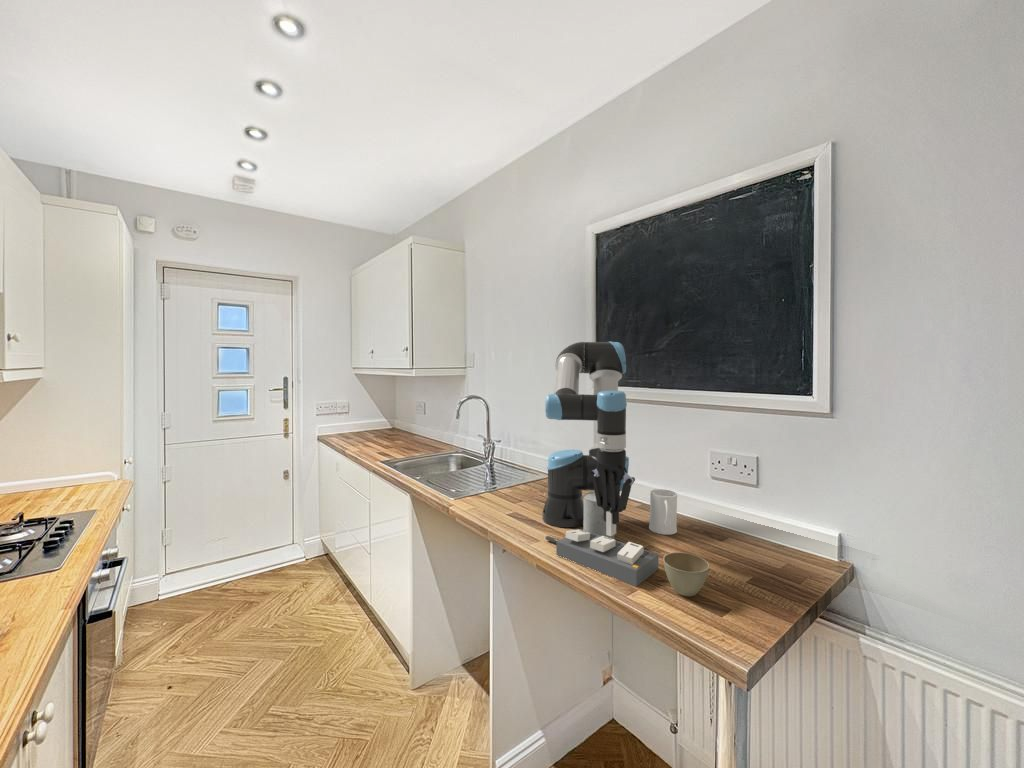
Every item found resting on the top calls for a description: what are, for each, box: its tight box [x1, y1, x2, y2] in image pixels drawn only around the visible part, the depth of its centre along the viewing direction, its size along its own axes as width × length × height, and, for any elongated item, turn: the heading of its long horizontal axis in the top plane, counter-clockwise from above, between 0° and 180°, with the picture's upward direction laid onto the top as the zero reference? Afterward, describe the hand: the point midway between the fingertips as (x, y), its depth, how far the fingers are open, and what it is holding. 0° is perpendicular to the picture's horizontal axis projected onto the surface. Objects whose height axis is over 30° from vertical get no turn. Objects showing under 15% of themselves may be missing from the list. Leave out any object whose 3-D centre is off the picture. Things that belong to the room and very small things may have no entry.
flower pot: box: [662, 551, 710, 597], centre depth 102 cm, size 10×10×7 cm
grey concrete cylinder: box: [582, 491, 615, 539], centre depth 134 cm, size 10×10×12 cm
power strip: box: [545, 529, 660, 588], centre depth 120 cm, size 33×12×4 cm, turn 47°
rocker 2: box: [590, 536, 617, 552], centre depth 116 cm, size 4×6×2 cm, turn 137°
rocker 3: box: [617, 541, 645, 565], centre depth 110 cm, size 4×6×2 cm, turn 137°
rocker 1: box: [564, 529, 590, 542], centre depth 121 cm, size 4×6×2 cm, turn 137°
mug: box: [648, 488, 678, 536], centre depth 138 cm, size 12×8×12 cm
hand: (611, 534), depth 119 cm, fingers closed
